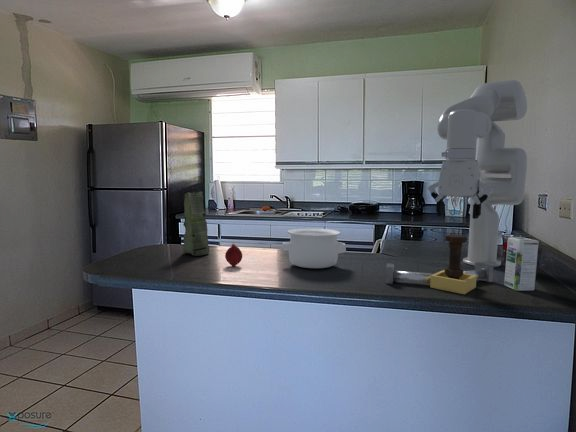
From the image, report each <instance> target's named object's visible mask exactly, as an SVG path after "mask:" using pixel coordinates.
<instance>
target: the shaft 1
mask: <svg viewBox="0 0 576 432" xmlns="http://www.w3.org/2000/svg"><path fill="white" fill-rule="evenodd" d="M394 267H395V264H394V263H386V265H385V284H388V285H393V284H394V281H395V282H405V283H406V282H407V283H414V284H415V283H418V284H427V285H430V282H431V275H433V274H434V273H431V272H430V273H429V272H419V271H418V272H417V271H403V270H394Z"/></svg>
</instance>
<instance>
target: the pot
mask: <svg viewBox="0 0 576 432" xmlns="http://www.w3.org/2000/svg"><path fill="white" fill-rule="evenodd" d="M286 232H287V233H288V234H289V235H290V238H289V239H290V240H289V241H283V242H282V244H281V245H282V246H281V249H282V251H284V252H288V257H289V263H290V264H291V265H293V266H297V267H300V268H306V269H325V268H331V267H333V266H335V265H337V262H338V256H339V254H344V253H346V252H347V249H346V243H344V242H340V241H338V237H337V236H339V235H341V231H338V230H336V229H328V228H317V227H315V228H314V227H313V228H312V227H311V228H306V227H305V228H293V229H289V230H287V231H286Z"/></svg>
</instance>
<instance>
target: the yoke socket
mask: <svg viewBox="0 0 576 432" xmlns="http://www.w3.org/2000/svg"><path fill="white" fill-rule="evenodd" d="M432 274H433V275H431V282H430V284H429V285H430V286H429V287H430V288H431V289H436V290H440V291H445V292H446V291H447V292H452V293H455V294H456V293H457V294H461V295H466V294H467V293H469V292H471V291H472V290H474V289H475V288H477V280H476V278H477V276H476V275H471V274H465V273H463V275H462V276H461V277H460V279H459V280H458V279H452V278H448V276H447V275H446V274H445V269H443V270H440V271H438V272H435V273H432Z"/></svg>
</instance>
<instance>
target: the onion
mask: <svg viewBox="0 0 576 432" xmlns="http://www.w3.org/2000/svg"><path fill="white" fill-rule="evenodd" d="M224 256H225V260H226V262H227V263H228V264H229V265H230V266H232V267H236V266H237V265H238V264H240V262H242V260H243V252H242V250H241V249H240V248H239V246H237V245H236V244H235V243H234V242H233V243H232V244H231V246H230V247H229V248H228V249H227V250H226V252H225V254H224Z"/></svg>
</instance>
